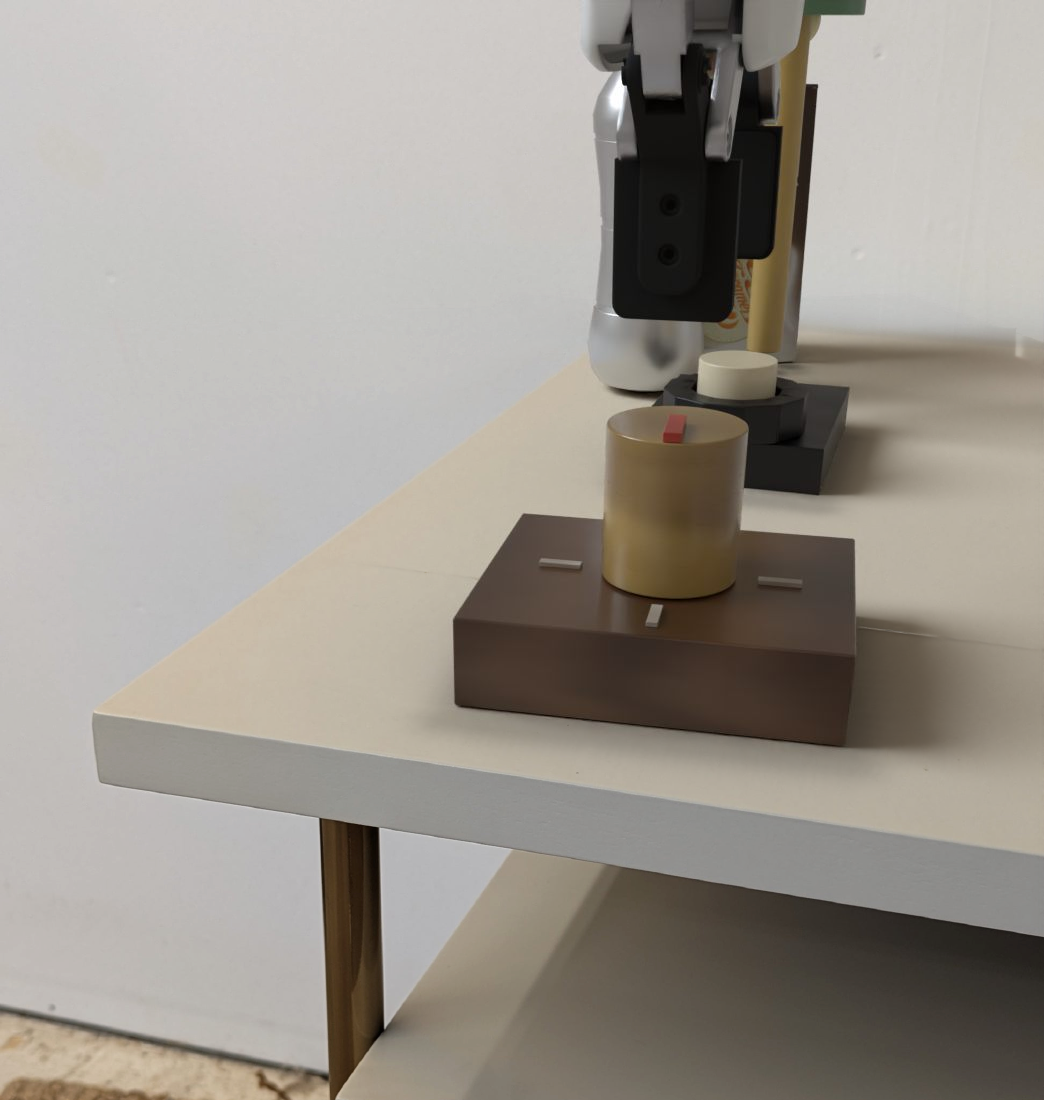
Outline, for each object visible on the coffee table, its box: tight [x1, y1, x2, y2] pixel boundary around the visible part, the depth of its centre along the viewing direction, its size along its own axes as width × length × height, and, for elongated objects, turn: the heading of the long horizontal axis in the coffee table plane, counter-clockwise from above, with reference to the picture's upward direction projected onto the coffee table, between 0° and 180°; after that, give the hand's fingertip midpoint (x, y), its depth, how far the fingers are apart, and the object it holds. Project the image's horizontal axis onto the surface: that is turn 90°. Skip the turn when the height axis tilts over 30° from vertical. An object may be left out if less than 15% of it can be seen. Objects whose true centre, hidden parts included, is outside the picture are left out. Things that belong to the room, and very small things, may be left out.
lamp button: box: [697, 350, 779, 400], centre depth 62 cm, size 4×4×2 cm
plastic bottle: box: [587, 71, 704, 393], centre depth 73 cm, size 6×7×20 cm
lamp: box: [746, 0, 867, 353], centre depth 65 cm, size 6×6×20 cm
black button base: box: [650, 373, 851, 496], centre depth 65 cm, size 13×9×4 cm
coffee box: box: [703, 83, 819, 363], centre depth 82 cm, size 9×6×16 cm
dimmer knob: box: [601, 406, 749, 599], centre depth 42 cm, size 4×4×5 cm
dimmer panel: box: [452, 512, 857, 747], centre depth 44 cm, size 12×10×3 cm
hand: (700, 284), depth 40 cm, fingers open, 9 cm apart
